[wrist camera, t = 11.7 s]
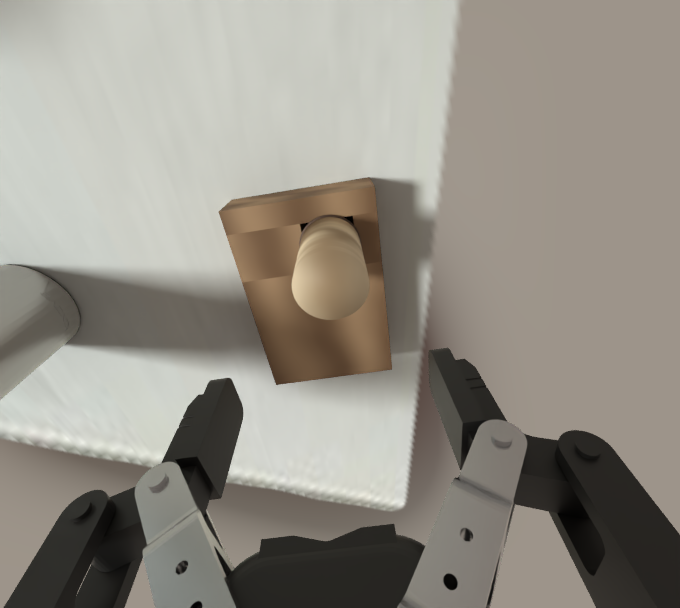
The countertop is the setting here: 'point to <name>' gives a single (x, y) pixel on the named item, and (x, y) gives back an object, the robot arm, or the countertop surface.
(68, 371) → the countertop surface
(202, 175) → the countertop surface
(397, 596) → the robot arm
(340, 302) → the peg
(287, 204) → the board
